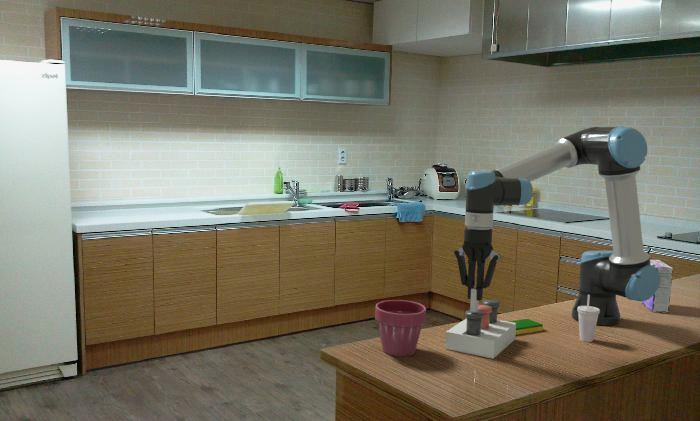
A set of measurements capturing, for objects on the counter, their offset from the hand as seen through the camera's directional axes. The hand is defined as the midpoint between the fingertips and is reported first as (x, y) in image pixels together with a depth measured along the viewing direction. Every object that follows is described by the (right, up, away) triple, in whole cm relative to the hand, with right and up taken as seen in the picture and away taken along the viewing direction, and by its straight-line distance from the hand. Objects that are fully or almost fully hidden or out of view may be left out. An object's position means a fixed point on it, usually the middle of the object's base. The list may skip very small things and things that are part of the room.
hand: (474, 311), depth 180 cm
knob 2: (+7, -5, +13) cm, 15 cm away
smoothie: (+36, -11, +13) cm, 40 cm away
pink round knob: (+4, -6, +7) cm, 10 cm away
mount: (+3, -11, +7) cm, 13 cm away
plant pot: (-21, -11, 0) cm, 24 cm away
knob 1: (0, -6, +1) cm, 7 cm away
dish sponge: (+18, -10, +22) cm, 30 cm away
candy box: (+75, -7, +52) cm, 91 cm away
